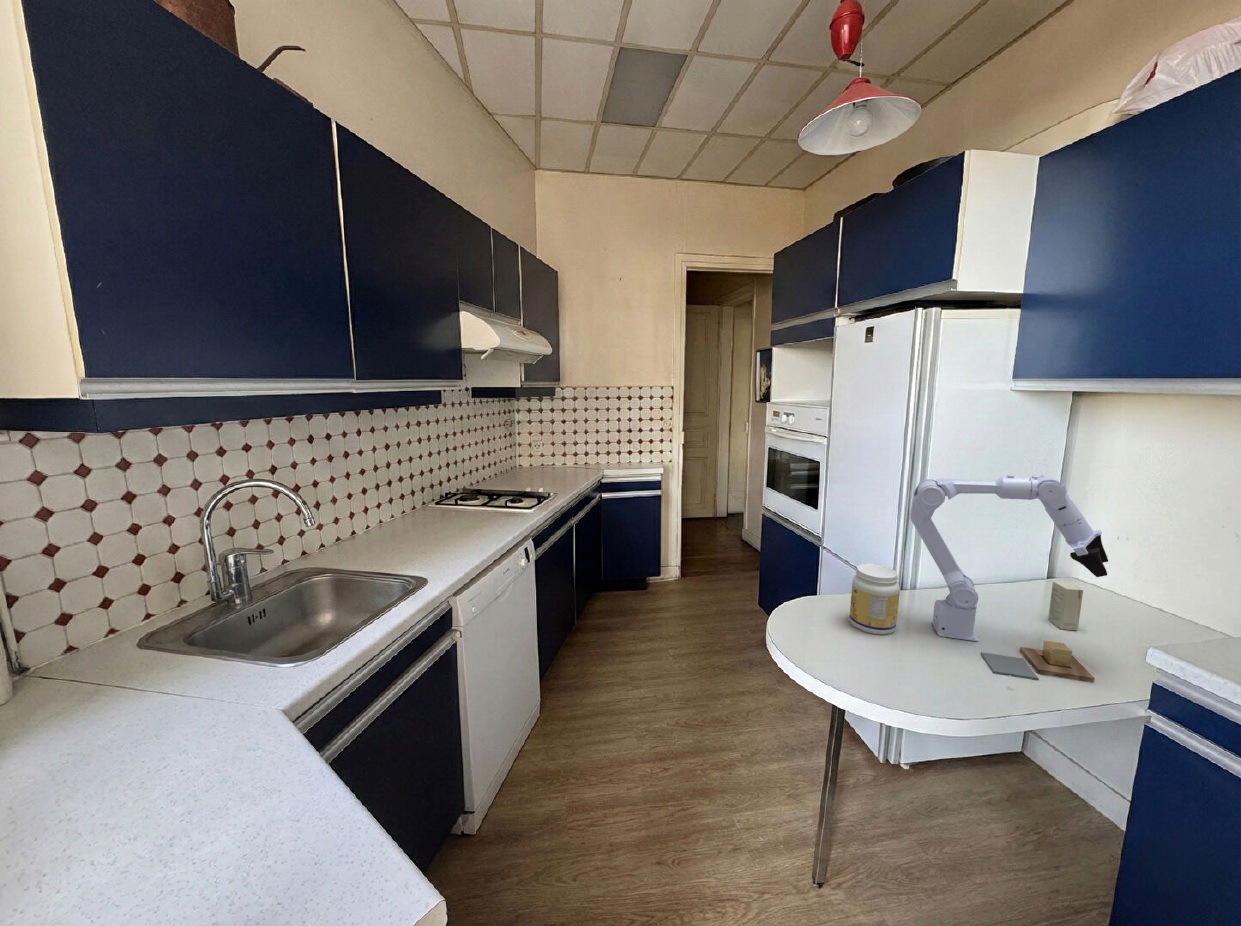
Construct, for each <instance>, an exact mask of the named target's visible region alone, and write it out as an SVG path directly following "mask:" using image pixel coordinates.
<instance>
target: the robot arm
mask: <svg viewBox="0 0 1241 926" xmlns="http://www.w3.org/2000/svg"><path fill="white" fill-rule="evenodd" d="M960 494H965V495H966V494H969V495H971V494H973V495H974V494H980V495H981V494H989V495H990V494H994V495H996V496H997V497H998V498H1000V499H1002V500H1005V499H1006V500H1026V501H1027V500H1028V501H1029V500H1030V501H1034V500H1035V499H1038V500H1039V501H1040V502H1041V504H1042V505H1043V507H1044V509H1045V512H1046V513H1047V515H1048V516H1049V518H1050V519H1051V520H1052V522H1053V523H1054V524H1055V526H1056V528H1057V529H1058V530H1059V532H1060V533H1061V535H1062V537H1063V538H1064V539H1065V542H1066V543H1067V545H1068V546H1070V548H1072V550H1073V552H1070V553H1069V554H1070V555H1069V557H1070V558H1071V559H1072V560H1074V561H1076V562H1078V563H1079V564H1081V565H1082V566H1083V567H1084V568H1086V569H1087V570H1088V571H1089V572H1090V573H1091V574H1092V575H1094V576H1095V577H1096V578H1101V577H1107V576H1108V571H1107V568H1106V566H1105V564H1104V563H1109V559H1108V556H1107V553H1106V550H1105V548H1104V545H1103V542H1102V531H1101V530H1100V529H1096V530H1094V529H1093V528H1092V527H1091V526H1090V524H1089V522H1088V521H1087V520H1086V518H1085V517H1084V516H1083V514H1082V512H1081V511H1080V509H1079V508H1078V507H1077V505H1076V504H1075V502H1074V501H1073V500H1072V499H1071V498H1070V496H1069V494H1068V493H1067V488H1066V486H1065V485H1063V484H1062V483H1061V482H1060V481H1058V480H1057V479H1055V478H1054V477H1051V476H1047V475H1032V476H1029V477H1026V476H1025V477H1024V476H1023V477H1021V476H1020V477H1019V476H1015V475H1014V474H1006V476H1000V477H999V478H998V479H996V480H994V481H993V480H979V479H978V480H976V479H975V480H974V479H959V478H958V479H957V478H936V479H935V480H934V479H929V478H928V479H923V480H921V481H920V482H919V483H918V484H917V486H916V488H915V490H914V491H913V495H912V502H911V507H910V508H911V509H910V513H909V514H910V515H909V516H910V520H911V522H912V524H913V526H914V528H915V529H916V532H917V533H918V534H919V536H920V538H921V539H922V541H923V544H924V545H925V547H926V548H927V551H928V552H929V554H930V556H931V557H932V559H933V560H934V562H935V564H936V566H937V567H938V569H939V571H940V573H941V575H942V576H943V579H944V581H945V583H946V586H947V588H948V591H949V594H947V596H945V598H944V599H935V602H934V605H933V615H932V622H931V625H932V626H933V629H934V630H935V631H936V634H937V635H938V636H939V637H943V638H944V637H945V638H951V639H952V638H953V639H959V640H965V641H973V642H979V639H978V637H977V636H976V634H975V633H974V630H975V622H976V614H977V605H978V601H979V595H978V592H977V591H976V588H975V584H974V582H973V580H972V579H971V578H970V577H969V576H967V575H966V574H965V573H964V572H963V570H962V569H961V567H960V566H959V564H958V563H957V561H956V559H955V557H954V556H953V554H952V553H951V551H950V549H949V547H948V545H947V544H946V542H945V540H944V538H943V536H942V535H941V534H940V532H939V529H938V528H937V526H936V524H935V523H934V521H933V520H932V518H933V515H934V513H935V511H936V510H937V509H938V508H939V507H941V506H942V505H943V503H944V502H945V500H946V497H947V499H948V500H951V499H953V498H955V497H956V496H957V495H960Z"/></svg>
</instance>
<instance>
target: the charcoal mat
mask: <svg viewBox="0 0 1241 926" xmlns="http://www.w3.org/2000/svg"><path fill="white" fill-rule="evenodd" d="M980 655H981V656H982V658H983V660H984V661H985V663H986V664H987V666H988V667H989V670H991V672H992V673H993V674H997V675H1003V676H1009V675H1011V676H1010V677H1015V678H1023V679H1029V680H1035V681H1039V677H1038V676H1037V675H1036V673H1035V672H1034V671H1033V669H1032V668H1031V667H1030V665H1028V663H1027V662H1026V661H1025V659H1024V658H1023V657H1017V656H1009V655H1002V654H997V653H996V654H995V653H990V652H984V651H983V652H982V651H981V652H980Z"/></svg>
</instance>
